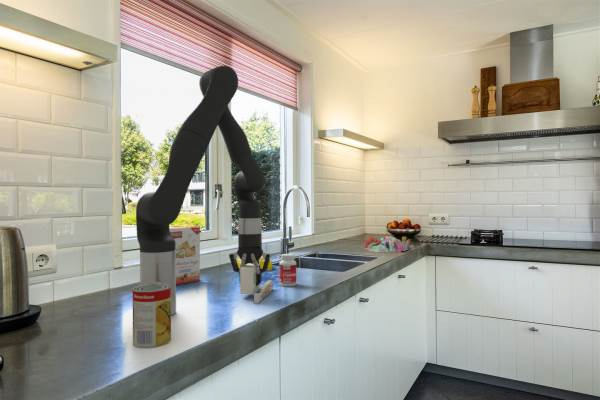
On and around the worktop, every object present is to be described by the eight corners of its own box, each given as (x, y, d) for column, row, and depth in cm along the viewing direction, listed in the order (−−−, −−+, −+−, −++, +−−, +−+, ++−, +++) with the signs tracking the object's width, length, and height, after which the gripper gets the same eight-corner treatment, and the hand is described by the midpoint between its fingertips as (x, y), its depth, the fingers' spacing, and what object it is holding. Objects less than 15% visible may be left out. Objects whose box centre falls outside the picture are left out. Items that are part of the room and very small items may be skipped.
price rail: (261, 303, 123) (261, 293, 123) (254, 303, 124) (254, 293, 124) (274, 289, 143) (274, 280, 143) (268, 288, 144) (268, 280, 144)
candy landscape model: (386, 247, 264) (385, 233, 264) (417, 251, 246) (416, 235, 246) (358, 251, 249) (358, 235, 249) (389, 255, 230) (389, 238, 230)
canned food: (175, 335, 95) (174, 283, 95) (165, 347, 87) (164, 290, 87) (140, 336, 95) (139, 283, 95) (127, 348, 87) (126, 291, 87)
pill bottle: (281, 287, 146) (281, 256, 146) (277, 284, 152) (277, 253, 152) (298, 286, 148) (298, 255, 148) (293, 282, 154) (293, 253, 154)
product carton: (260, 287, 139) (260, 263, 139) (253, 294, 129) (253, 268, 129) (248, 287, 139) (247, 263, 139) (240, 294, 130) (239, 268, 129)
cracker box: (169, 286, 149) (168, 228, 149) (159, 284, 153) (159, 227, 153) (201, 280, 160) (200, 226, 160) (191, 278, 163) (191, 225, 163)
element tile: (232, 267, 191) (232, 257, 191) (264, 265, 196) (264, 255, 196) (239, 273, 177) (239, 261, 177) (273, 270, 182) (273, 259, 182)
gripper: (273, 231, 137) (274, 283, 137) (232, 231, 139) (232, 282, 139) (269, 233, 129) (269, 287, 129) (225, 233, 131) (225, 287, 131)
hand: (250, 284), depth 134 cm, fingers closed on product carton, 4 cm apart
